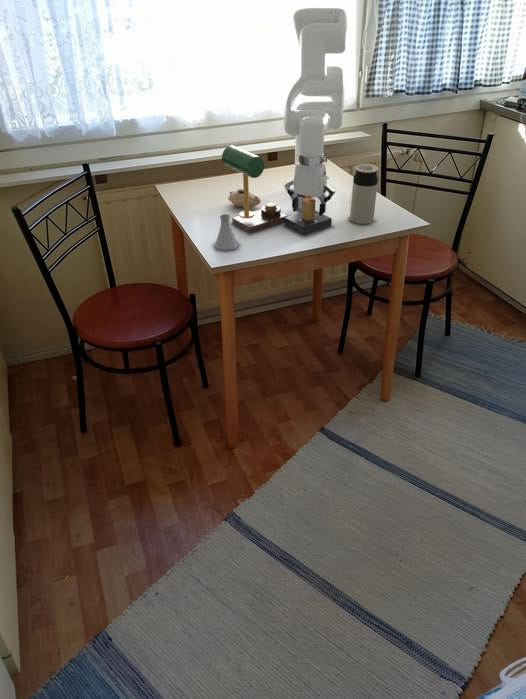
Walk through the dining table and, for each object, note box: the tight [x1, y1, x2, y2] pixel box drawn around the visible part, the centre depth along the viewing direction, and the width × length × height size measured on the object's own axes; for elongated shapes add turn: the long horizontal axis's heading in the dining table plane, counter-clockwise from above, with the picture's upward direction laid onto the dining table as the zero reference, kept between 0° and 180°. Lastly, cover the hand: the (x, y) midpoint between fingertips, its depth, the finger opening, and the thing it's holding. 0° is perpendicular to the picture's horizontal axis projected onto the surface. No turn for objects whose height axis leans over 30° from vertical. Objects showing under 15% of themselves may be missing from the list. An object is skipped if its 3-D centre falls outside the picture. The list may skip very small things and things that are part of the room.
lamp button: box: [264, 202, 277, 211], centre depth 195 cm, size 4×4×2 cm
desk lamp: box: [221, 145, 265, 218], centre depth 184 cm, size 7×14×21 cm, turn 36°
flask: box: [214, 213, 239, 251], centre depth 178 cm, size 7×7×10 cm
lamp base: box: [231, 204, 289, 234], centre depth 195 cm, size 16×10×4 cm, turn 126°
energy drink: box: [296, 194, 313, 213], centre depth 201 cm, size 5×5×12 cm
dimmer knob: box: [302, 197, 317, 220], centre depth 189 cm, size 4×4×6 cm
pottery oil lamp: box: [227, 188, 261, 208], centre depth 206 cm, size 9×12×7 cm
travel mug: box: [349, 163, 379, 225], centre depth 192 cm, size 8×8×18 cm
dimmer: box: [284, 210, 333, 236], centre depth 192 cm, size 12×10×3 cm
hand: (308, 212), depth 190 cm, fingers open, 8 cm apart
